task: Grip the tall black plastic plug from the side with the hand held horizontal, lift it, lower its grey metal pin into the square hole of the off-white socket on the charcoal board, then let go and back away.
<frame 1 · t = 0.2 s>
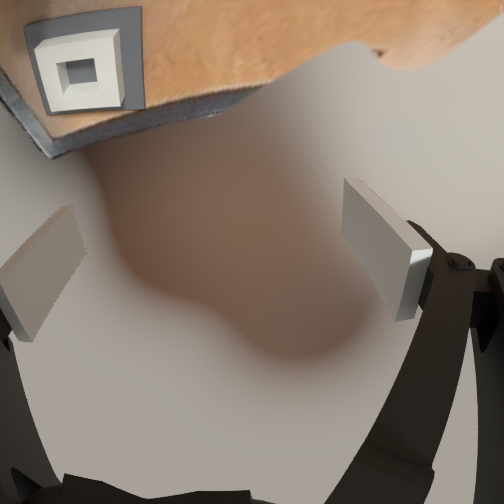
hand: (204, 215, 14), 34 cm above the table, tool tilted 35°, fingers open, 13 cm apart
socket: (86, 63, 36), on the table
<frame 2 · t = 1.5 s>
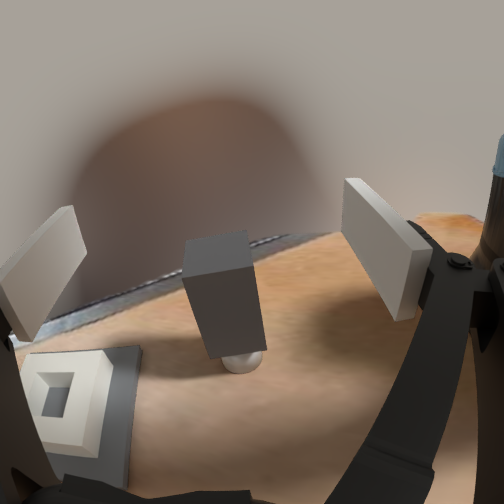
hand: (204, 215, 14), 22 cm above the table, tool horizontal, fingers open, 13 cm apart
socket: (66, 412, 28), on the table
plug: (242, 357, 34), on the table
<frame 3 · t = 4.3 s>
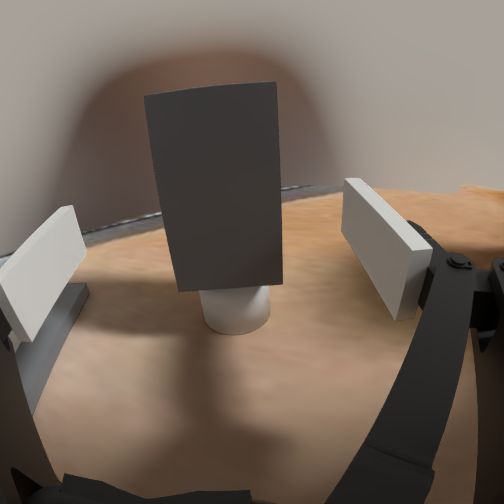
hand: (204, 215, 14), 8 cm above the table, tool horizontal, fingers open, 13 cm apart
plug: (236, 311, 21), on the table
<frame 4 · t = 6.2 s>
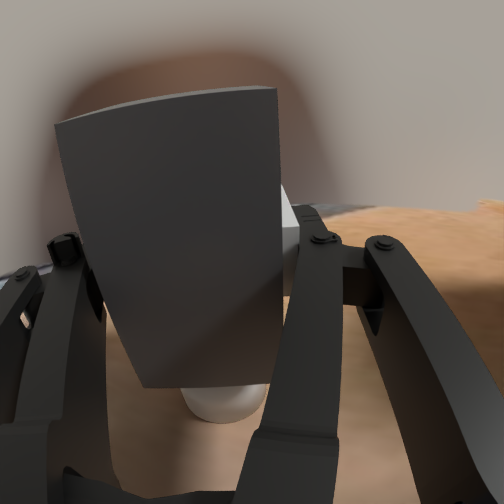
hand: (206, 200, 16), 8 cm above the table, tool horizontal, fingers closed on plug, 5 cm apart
plug: (224, 388, 16), on the table, touching gripper
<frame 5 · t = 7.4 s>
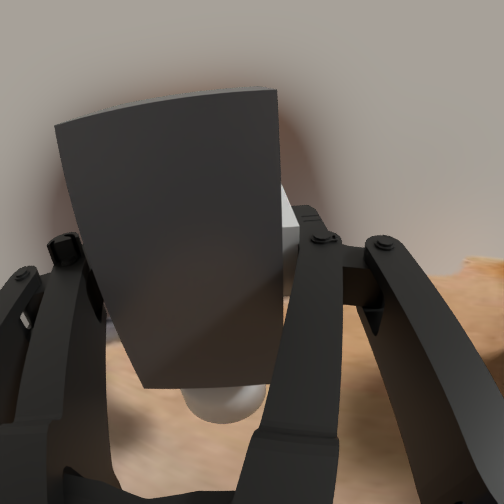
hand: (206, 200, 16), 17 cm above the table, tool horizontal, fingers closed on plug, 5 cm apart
plug: (224, 389, 16), point 9 cm above the table, touching gripper
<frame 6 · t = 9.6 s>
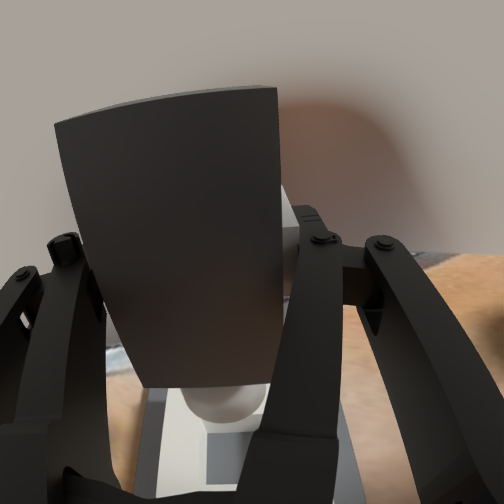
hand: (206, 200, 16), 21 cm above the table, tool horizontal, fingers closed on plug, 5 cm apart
socket: (244, 466, 22), on the table
plug: (224, 388, 16), point 12 cm above the table, touching gripper
when the fingers open (11 cm above the table, at t = 12.0 s): plug drops 1 cm, resting on socket.
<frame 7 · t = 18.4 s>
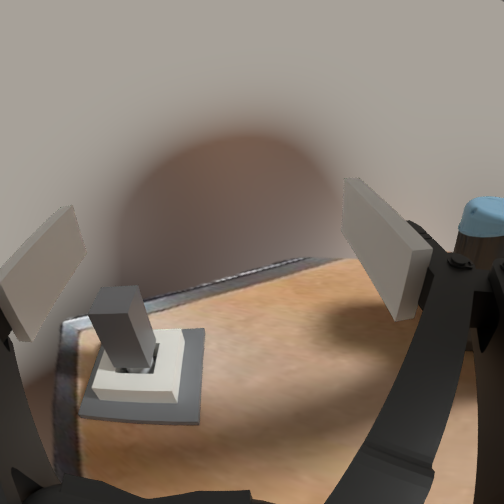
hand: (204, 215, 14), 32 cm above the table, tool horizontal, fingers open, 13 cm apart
socket: (145, 374, 45), on the table
plug: (143, 370, 44), point 1 cm above the table, touching socket
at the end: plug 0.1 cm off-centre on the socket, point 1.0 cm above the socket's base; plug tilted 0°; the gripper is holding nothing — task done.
